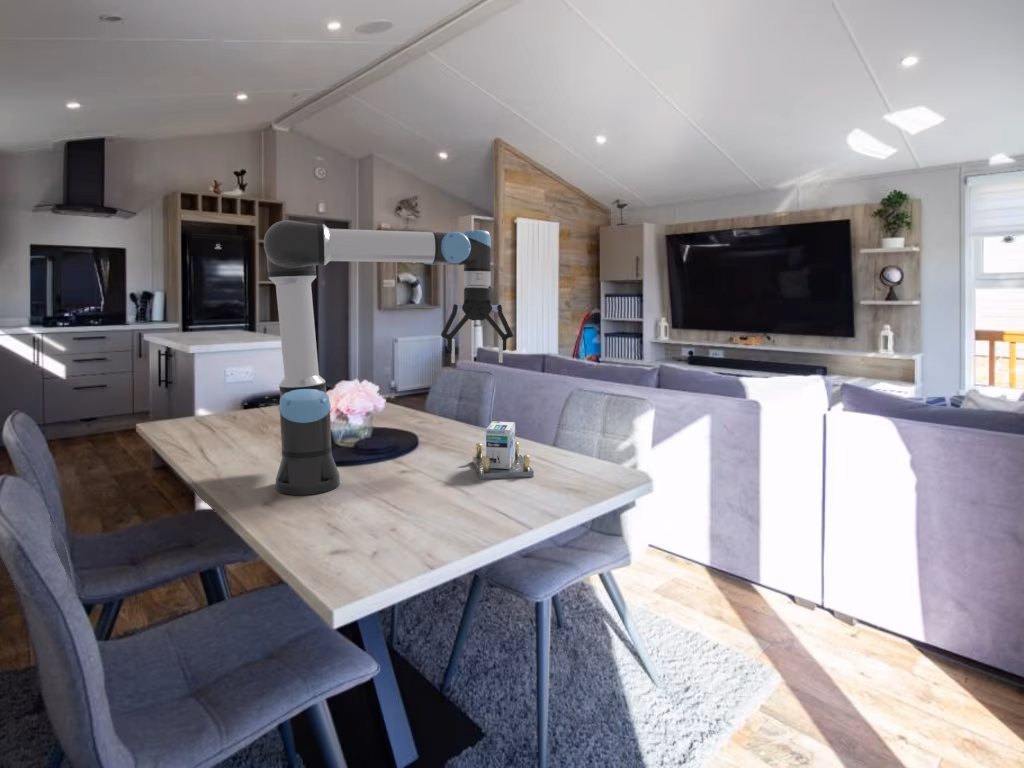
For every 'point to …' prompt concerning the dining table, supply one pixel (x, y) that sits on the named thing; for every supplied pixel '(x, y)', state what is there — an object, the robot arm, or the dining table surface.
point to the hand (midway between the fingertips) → (476, 362)
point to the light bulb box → (500, 444)
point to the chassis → (516, 471)
